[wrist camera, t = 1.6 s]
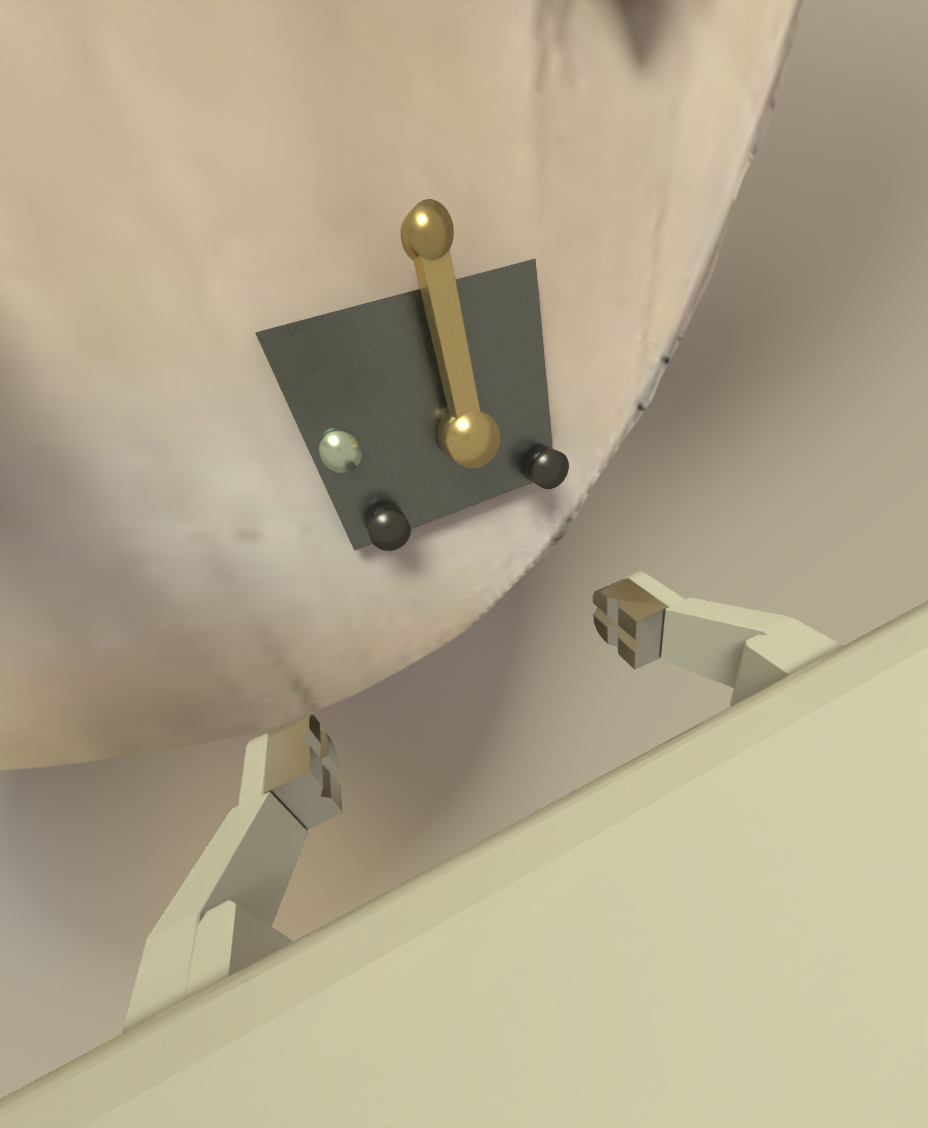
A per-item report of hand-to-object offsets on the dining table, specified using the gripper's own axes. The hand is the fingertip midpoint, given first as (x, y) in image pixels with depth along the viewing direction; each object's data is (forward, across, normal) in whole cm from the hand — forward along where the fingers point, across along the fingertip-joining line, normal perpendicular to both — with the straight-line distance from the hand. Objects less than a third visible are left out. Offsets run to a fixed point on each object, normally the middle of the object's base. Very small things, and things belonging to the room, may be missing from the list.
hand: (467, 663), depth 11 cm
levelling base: (+32, -8, 0) cm, 33 cm away
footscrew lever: (+30, -10, -5) cm, 32 cm away
